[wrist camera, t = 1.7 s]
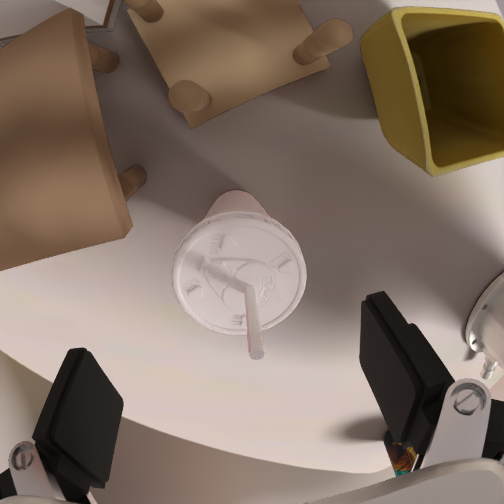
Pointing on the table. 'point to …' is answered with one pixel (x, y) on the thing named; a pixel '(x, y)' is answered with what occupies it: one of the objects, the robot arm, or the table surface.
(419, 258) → the table surface
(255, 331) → the smoothie
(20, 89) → the stool
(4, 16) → the display case
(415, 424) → the robot arm
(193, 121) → the upturned stool
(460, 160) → the flower pot
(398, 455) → the beverage can
